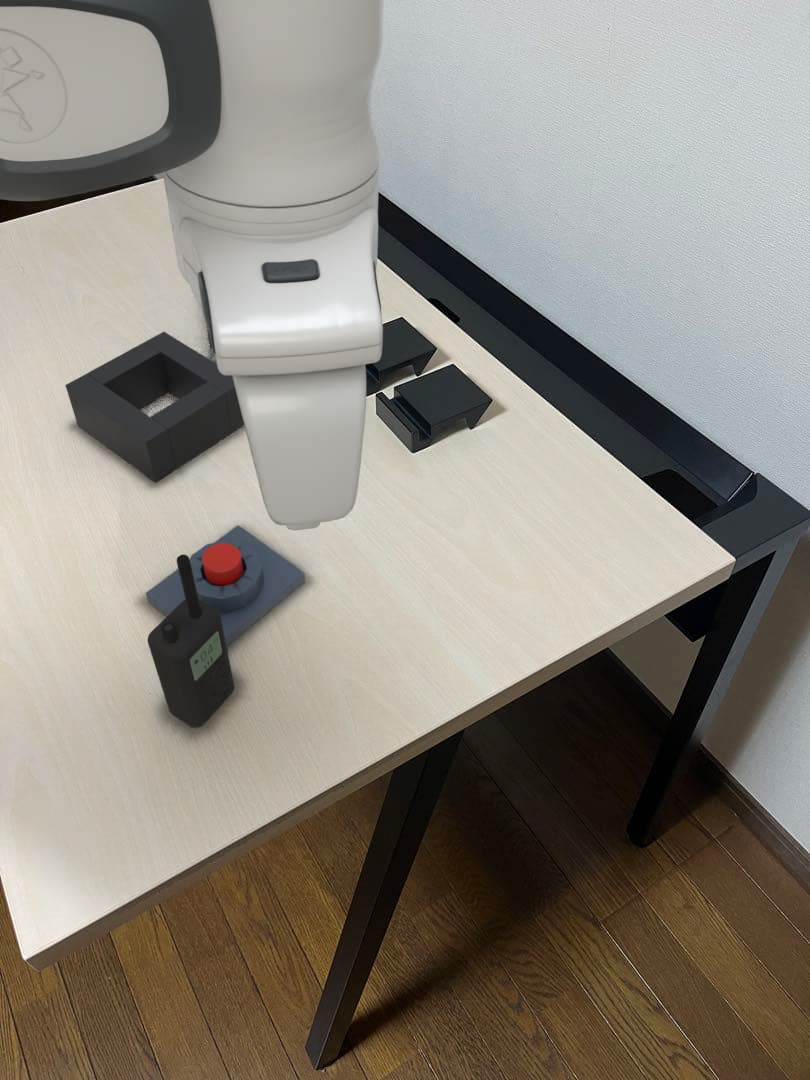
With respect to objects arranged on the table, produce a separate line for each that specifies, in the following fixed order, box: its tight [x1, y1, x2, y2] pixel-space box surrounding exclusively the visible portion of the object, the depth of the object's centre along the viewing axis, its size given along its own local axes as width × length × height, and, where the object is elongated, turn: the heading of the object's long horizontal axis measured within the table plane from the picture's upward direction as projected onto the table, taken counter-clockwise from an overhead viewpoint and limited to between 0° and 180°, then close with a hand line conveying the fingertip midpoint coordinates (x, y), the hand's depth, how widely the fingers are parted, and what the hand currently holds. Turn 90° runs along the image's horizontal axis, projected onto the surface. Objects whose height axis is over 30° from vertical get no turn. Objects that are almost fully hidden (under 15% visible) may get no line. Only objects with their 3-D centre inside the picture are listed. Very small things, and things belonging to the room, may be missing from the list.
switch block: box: [145, 525, 306, 647], centre depth 70 cm, size 10×8×3 cm
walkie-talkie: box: [146, 554, 235, 729], centre depth 59 cm, size 5×3×15 cm
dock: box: [65, 331, 244, 483], centre depth 83 cm, size 12×12×5 cm
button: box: [202, 543, 243, 586], centre depth 69 cm, size 3×3×2 cm
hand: (291, 457), depth 48 cm, fingers open, 8 cm apart
